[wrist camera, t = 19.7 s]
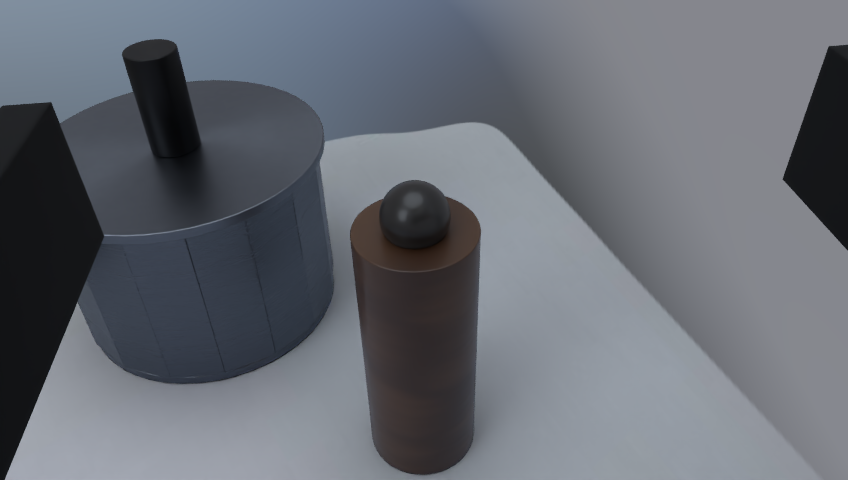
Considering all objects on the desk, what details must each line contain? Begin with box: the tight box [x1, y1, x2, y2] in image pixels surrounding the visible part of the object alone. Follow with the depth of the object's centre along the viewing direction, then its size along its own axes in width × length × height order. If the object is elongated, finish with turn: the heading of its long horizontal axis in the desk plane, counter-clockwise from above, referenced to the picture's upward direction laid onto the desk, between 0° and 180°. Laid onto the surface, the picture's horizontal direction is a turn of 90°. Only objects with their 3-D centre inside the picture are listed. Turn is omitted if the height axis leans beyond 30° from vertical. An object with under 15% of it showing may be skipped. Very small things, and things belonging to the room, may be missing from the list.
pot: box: [78, 162, 334, 384], centre depth 38 cm, size 14×14×10 cm
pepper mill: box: [350, 180, 481, 474], centre depth 29 cm, size 5×5×14 cm
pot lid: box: [60, 39, 325, 245], centre depth 34 cm, size 15×15×6 cm
